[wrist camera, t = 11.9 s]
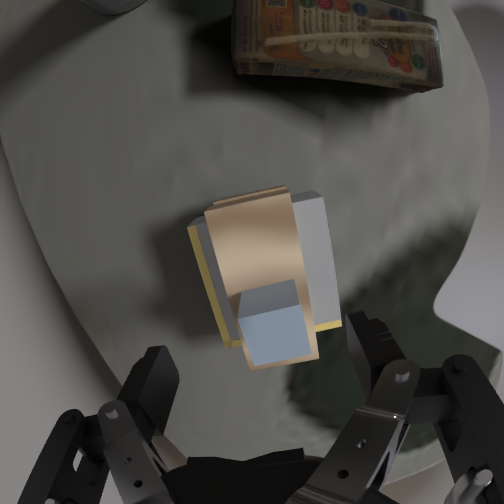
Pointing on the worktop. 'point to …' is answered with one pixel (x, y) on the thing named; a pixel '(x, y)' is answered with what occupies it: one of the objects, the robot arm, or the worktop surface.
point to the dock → (314, 258)
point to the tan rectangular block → (260, 252)
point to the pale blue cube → (273, 323)
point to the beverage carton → (337, 42)
